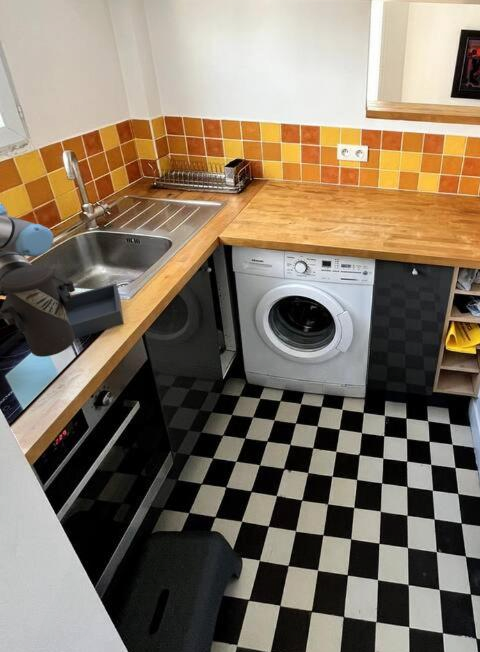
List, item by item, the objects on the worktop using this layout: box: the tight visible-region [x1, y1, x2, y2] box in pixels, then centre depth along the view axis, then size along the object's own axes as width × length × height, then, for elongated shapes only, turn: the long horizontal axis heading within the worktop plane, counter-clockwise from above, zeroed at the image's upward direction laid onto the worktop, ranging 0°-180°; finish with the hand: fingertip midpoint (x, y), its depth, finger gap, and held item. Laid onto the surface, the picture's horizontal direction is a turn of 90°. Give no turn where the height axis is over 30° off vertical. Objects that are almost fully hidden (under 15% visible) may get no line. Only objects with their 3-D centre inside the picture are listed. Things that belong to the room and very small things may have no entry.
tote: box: [63, 283, 125, 340], centre depth 108 cm, size 15×15×4 cm
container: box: [0, 263, 76, 358], centre depth 86 cm, size 9×9×20 cm
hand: (46, 315), depth 82 cm, fingers closed on container, 8 cm apart
